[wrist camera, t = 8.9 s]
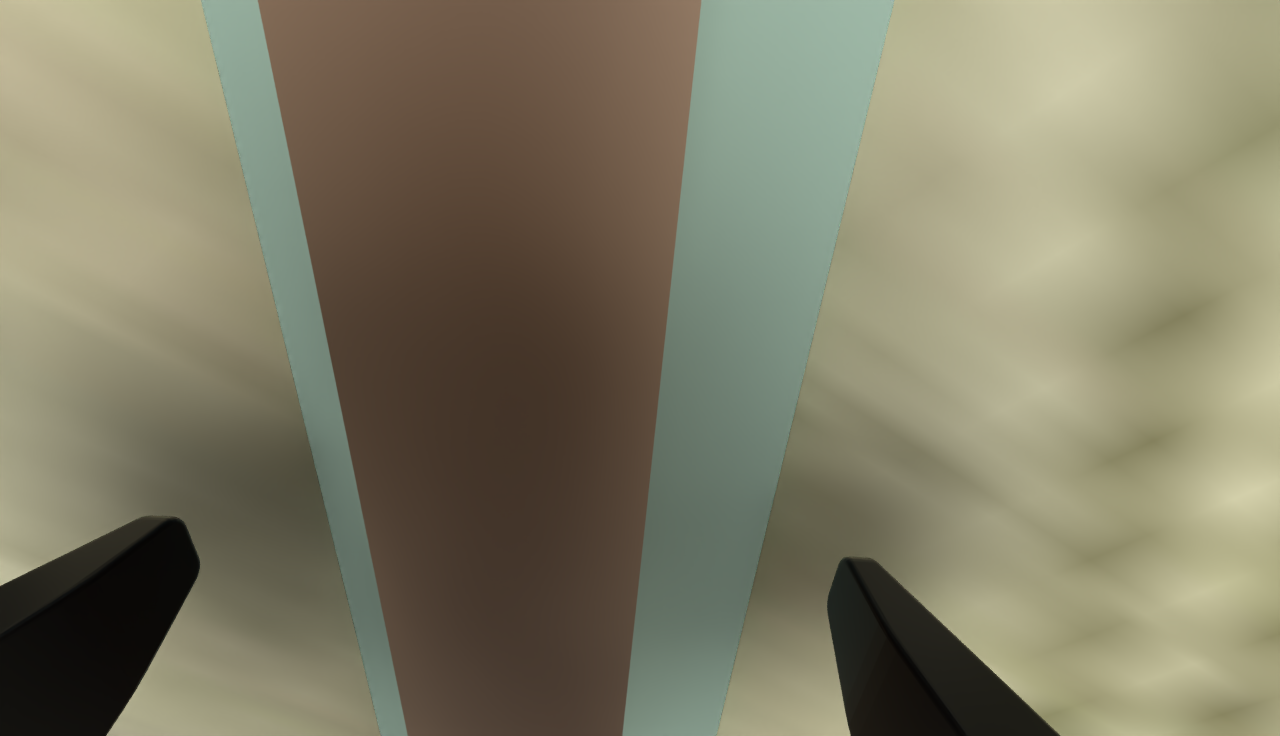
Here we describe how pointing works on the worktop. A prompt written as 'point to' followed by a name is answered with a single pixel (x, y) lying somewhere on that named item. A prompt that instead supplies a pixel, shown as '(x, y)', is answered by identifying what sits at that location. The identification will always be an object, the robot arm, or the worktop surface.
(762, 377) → the mat
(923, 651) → the robot arm
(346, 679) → the worktop surface
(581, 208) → the rail
